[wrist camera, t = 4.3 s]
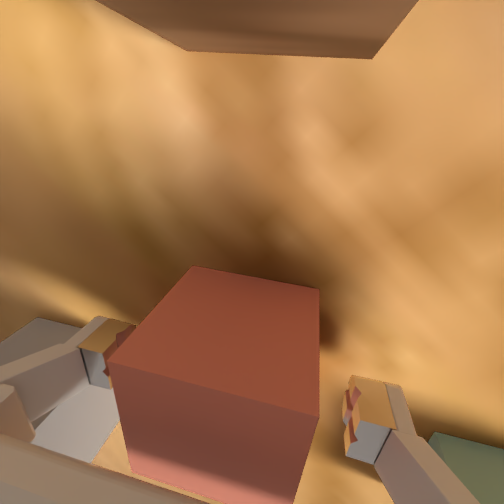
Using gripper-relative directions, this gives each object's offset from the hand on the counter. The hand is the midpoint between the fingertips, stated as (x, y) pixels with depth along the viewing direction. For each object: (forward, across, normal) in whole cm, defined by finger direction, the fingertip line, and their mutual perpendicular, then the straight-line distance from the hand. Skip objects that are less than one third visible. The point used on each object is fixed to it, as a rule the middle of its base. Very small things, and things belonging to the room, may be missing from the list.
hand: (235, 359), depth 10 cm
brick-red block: (+2, 0, 0) cm, 2 cm away
